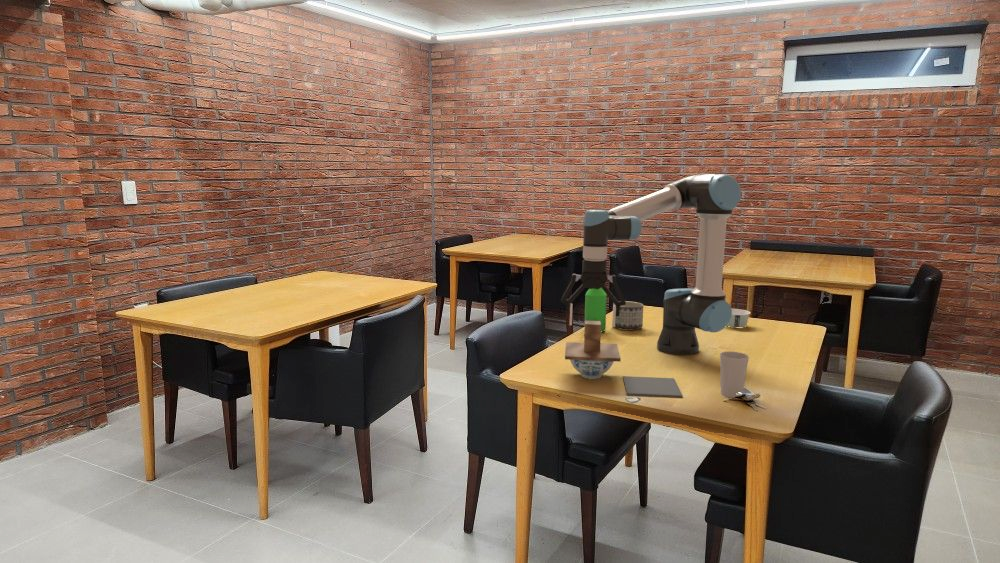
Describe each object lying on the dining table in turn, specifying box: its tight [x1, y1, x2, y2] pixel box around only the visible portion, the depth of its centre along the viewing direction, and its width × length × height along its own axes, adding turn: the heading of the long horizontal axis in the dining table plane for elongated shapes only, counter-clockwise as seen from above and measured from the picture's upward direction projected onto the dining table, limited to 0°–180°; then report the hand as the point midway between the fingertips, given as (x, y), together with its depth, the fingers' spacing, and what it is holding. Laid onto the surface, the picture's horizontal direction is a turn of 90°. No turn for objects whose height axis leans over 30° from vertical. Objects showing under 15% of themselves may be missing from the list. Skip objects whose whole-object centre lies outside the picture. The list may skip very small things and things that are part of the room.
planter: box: [612, 300, 644, 330], centre depth 262 cm, size 13×13×10 cm
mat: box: [622, 375, 684, 398], centre depth 187 cm, size 16×16×1 cm
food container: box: [727, 308, 751, 327], centre depth 267 cm, size 12×12×6 cm
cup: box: [719, 350, 750, 399], centre depth 181 cm, size 8×8×12 cm
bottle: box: [584, 288, 608, 332], centre depth 256 cm, size 9×9×25 cm
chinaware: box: [569, 360, 615, 380], centre depth 198 cm, size 15×15×8 cm
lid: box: [564, 320, 621, 363], centre depth 196 cm, size 17×17×10 cm
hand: (592, 325), depth 195 cm, fingers open, 13 cm apart
